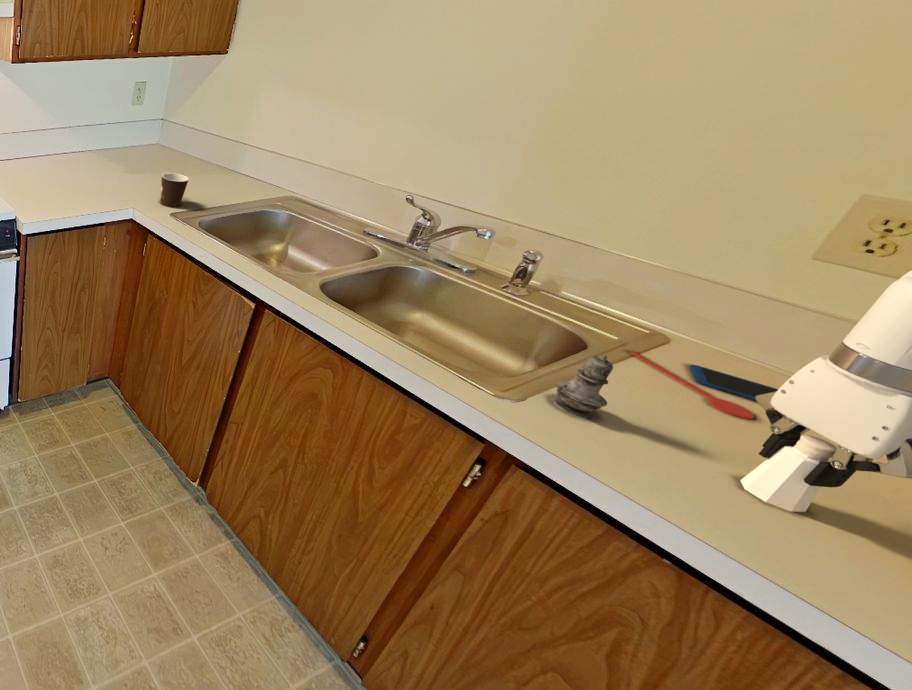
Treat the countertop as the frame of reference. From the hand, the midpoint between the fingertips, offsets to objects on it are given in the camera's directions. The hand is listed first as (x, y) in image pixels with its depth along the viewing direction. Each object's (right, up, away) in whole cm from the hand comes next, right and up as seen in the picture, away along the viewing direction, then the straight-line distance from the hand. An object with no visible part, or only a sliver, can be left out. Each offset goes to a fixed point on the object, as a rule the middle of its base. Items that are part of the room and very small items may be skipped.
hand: (795, 469), depth 72 cm
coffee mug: (-43, +38, +106) cm, 120 cm away
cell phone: (+28, +3, +21) cm, 35 cm away
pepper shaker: (0, -5, +2) cm, 6 cm away
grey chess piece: (-10, +1, +18) cm, 21 cm away
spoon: (+18, +4, +24) cm, 30 cm away
